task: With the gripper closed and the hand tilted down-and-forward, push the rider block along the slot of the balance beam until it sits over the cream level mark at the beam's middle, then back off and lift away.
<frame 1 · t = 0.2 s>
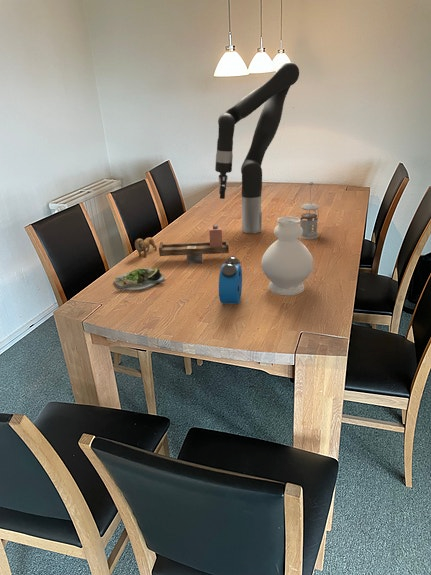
hand: (221, 196, 204), 18 cm above the table, tool pointing down, fingers open, 8 cm apart
salad plate: (141, 282, 164), on the table
beam: (194, 260, 180), on the table
french press: (309, 235, 203), on the table
alarm clock: (231, 302, 146), on the table
rider: (215, 236, 176), point 10 cm above the table, slide at 2.0 cm
decorative vase: (286, 288, 155), on the table
lion figurine: (147, 255, 189), on the table
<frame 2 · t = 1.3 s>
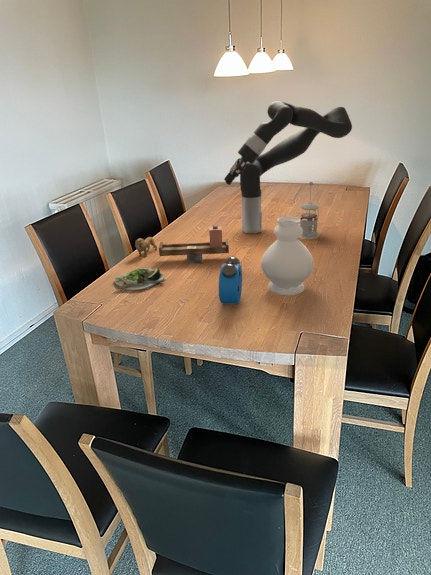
hand: (226, 182, 173), 30 cm above the table, tool tilted 40°, fingers open, 8 cm apart
nothing on the table moved.
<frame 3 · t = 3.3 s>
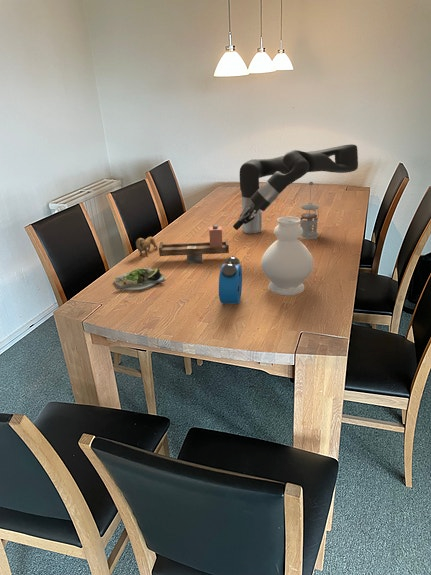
hand: (234, 228, 174), 13 cm above the table, tool tilted 45°, fingers closed
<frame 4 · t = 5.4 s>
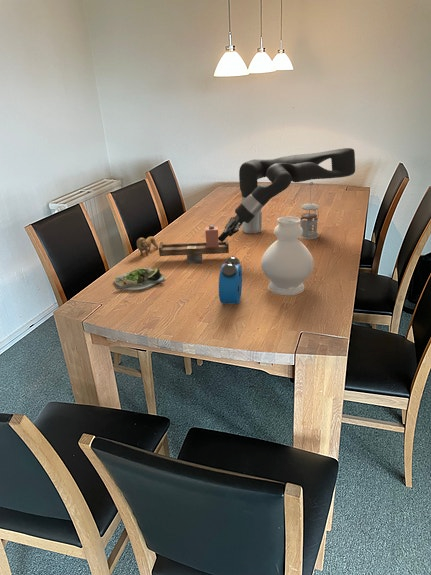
hand: (219, 240, 176), 9 cm above the table, tool tilted 45°, fingers closed
rider: (212, 236, 176), point 10 cm above the table, slide at 3.5 cm, touching gripper
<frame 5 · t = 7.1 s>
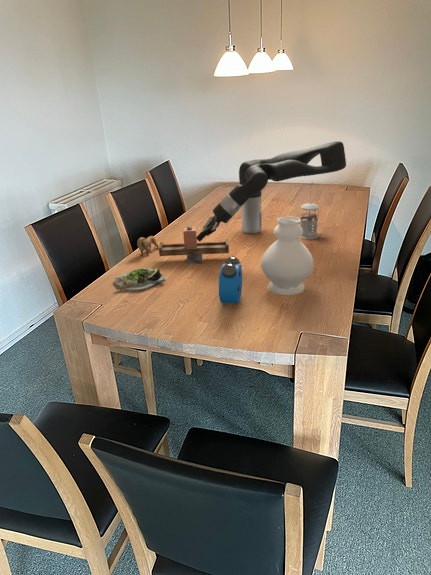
hand: (197, 239, 176), 9 cm above the table, tool tilted 45°, fingers closed
rider: (190, 237, 176), point 10 cm above the table, slide at 12.3 cm
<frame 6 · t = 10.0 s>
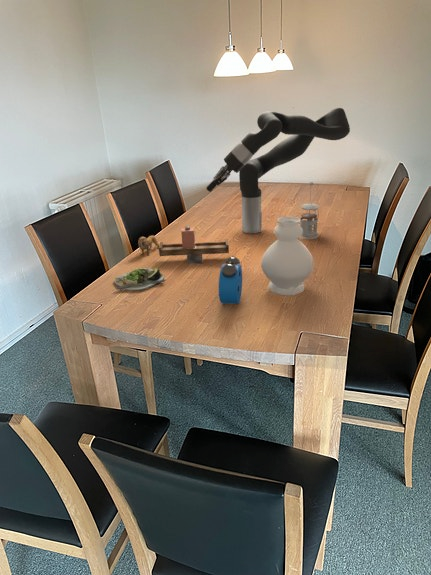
hand: (208, 190, 173), 28 cm above the table, tool tilted 45°, fingers closed
rider: (188, 237, 176), point 10 cm above the table, slide at 13.1 cm
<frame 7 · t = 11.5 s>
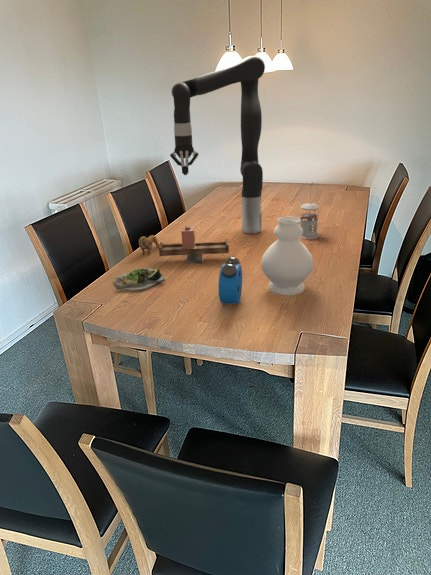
hand: (185, 174, 195), 29 cm above the table, tool pointing down, fingers closed
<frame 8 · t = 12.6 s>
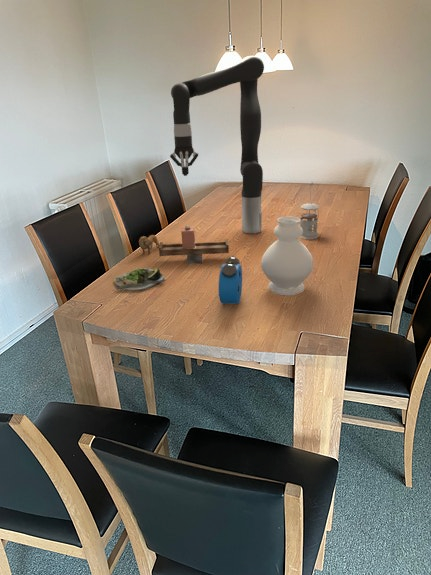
hand: (185, 175, 195), 29 cm above the table, tool pointing down, fingers closed
at the end: rider slide at 13.1 cm; rider touching nothing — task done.
